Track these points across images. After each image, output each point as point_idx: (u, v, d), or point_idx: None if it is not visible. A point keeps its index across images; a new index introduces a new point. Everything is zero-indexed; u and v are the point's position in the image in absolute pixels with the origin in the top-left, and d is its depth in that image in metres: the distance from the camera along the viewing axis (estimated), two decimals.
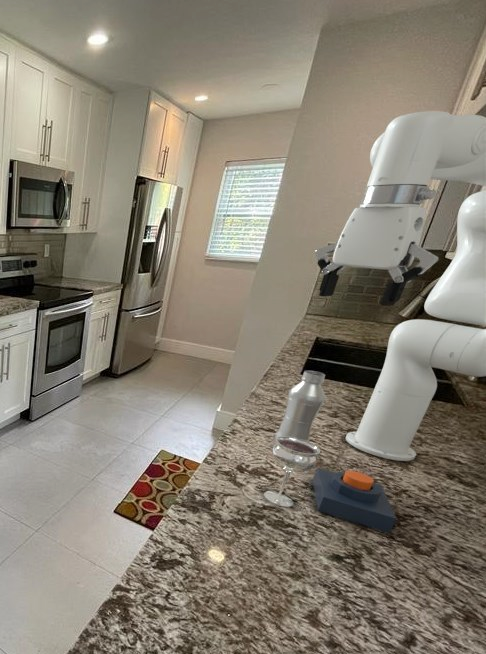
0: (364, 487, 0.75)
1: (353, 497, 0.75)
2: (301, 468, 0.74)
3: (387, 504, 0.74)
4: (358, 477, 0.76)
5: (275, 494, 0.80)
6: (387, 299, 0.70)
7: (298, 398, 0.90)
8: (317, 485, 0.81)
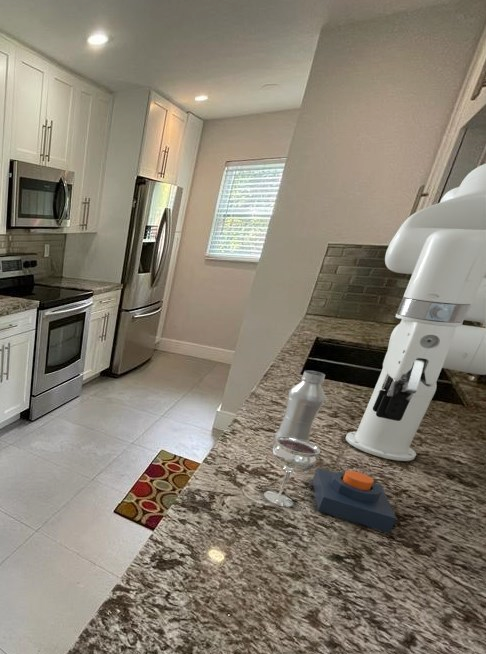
0: (364, 487, 0.75)
1: (353, 497, 0.75)
2: (301, 468, 0.74)
3: (387, 504, 0.74)
4: (358, 477, 0.76)
5: (275, 494, 0.80)
6: (380, 411, 0.71)
7: (298, 398, 0.90)
8: (317, 485, 0.81)
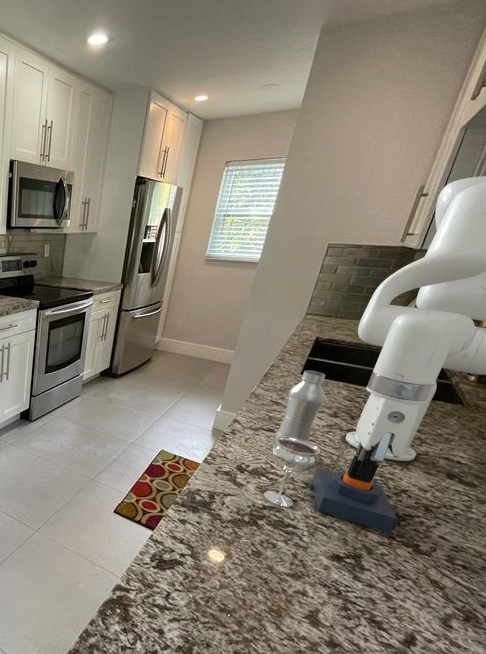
0: (363, 488, 0.75)
1: (353, 497, 0.75)
2: (301, 468, 0.74)
3: (387, 504, 0.74)
4: None
5: (275, 494, 0.80)
6: (352, 472, 0.76)
7: (298, 398, 0.90)
8: (317, 485, 0.81)
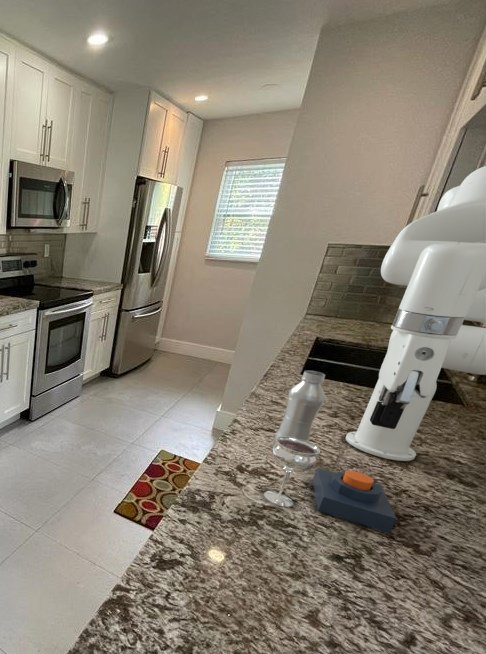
0: (364, 487, 0.75)
1: (353, 497, 0.75)
2: (301, 468, 0.74)
3: (387, 504, 0.74)
4: (358, 477, 0.76)
5: (275, 494, 0.80)
6: (375, 419, 0.72)
7: (298, 398, 0.90)
8: (317, 485, 0.81)
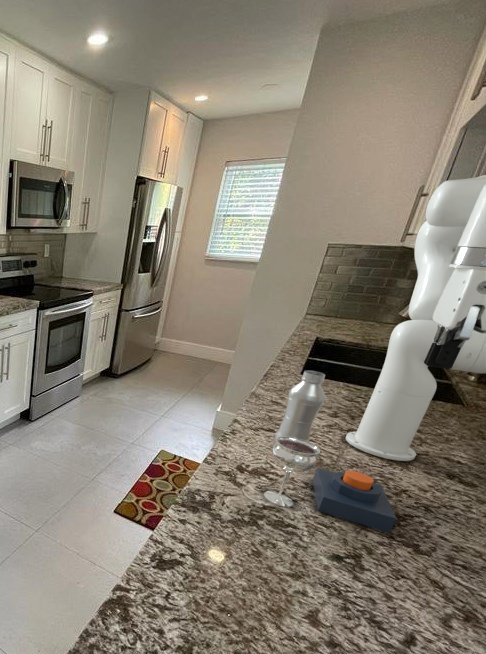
0: (364, 487, 0.75)
1: (353, 497, 0.75)
2: (301, 468, 0.74)
3: (387, 504, 0.74)
4: (358, 477, 0.76)
5: (275, 494, 0.80)
6: (430, 360, 0.73)
7: (298, 398, 0.90)
8: (317, 485, 0.81)
